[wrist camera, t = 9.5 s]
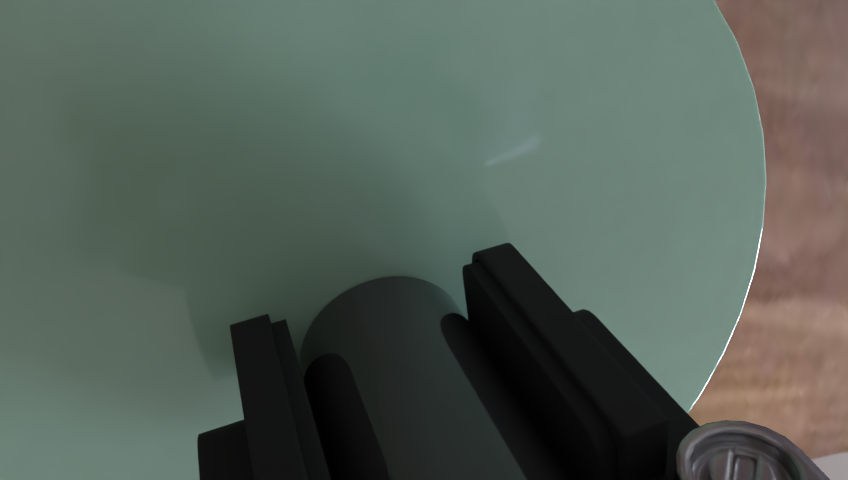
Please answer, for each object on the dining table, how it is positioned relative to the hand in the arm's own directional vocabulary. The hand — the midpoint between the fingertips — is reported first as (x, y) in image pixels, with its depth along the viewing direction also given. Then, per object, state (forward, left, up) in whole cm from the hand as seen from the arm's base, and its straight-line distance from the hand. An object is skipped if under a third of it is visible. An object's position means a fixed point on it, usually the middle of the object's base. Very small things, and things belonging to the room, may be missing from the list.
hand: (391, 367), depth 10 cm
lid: (0, 0, -1) cm, 1 cm away
